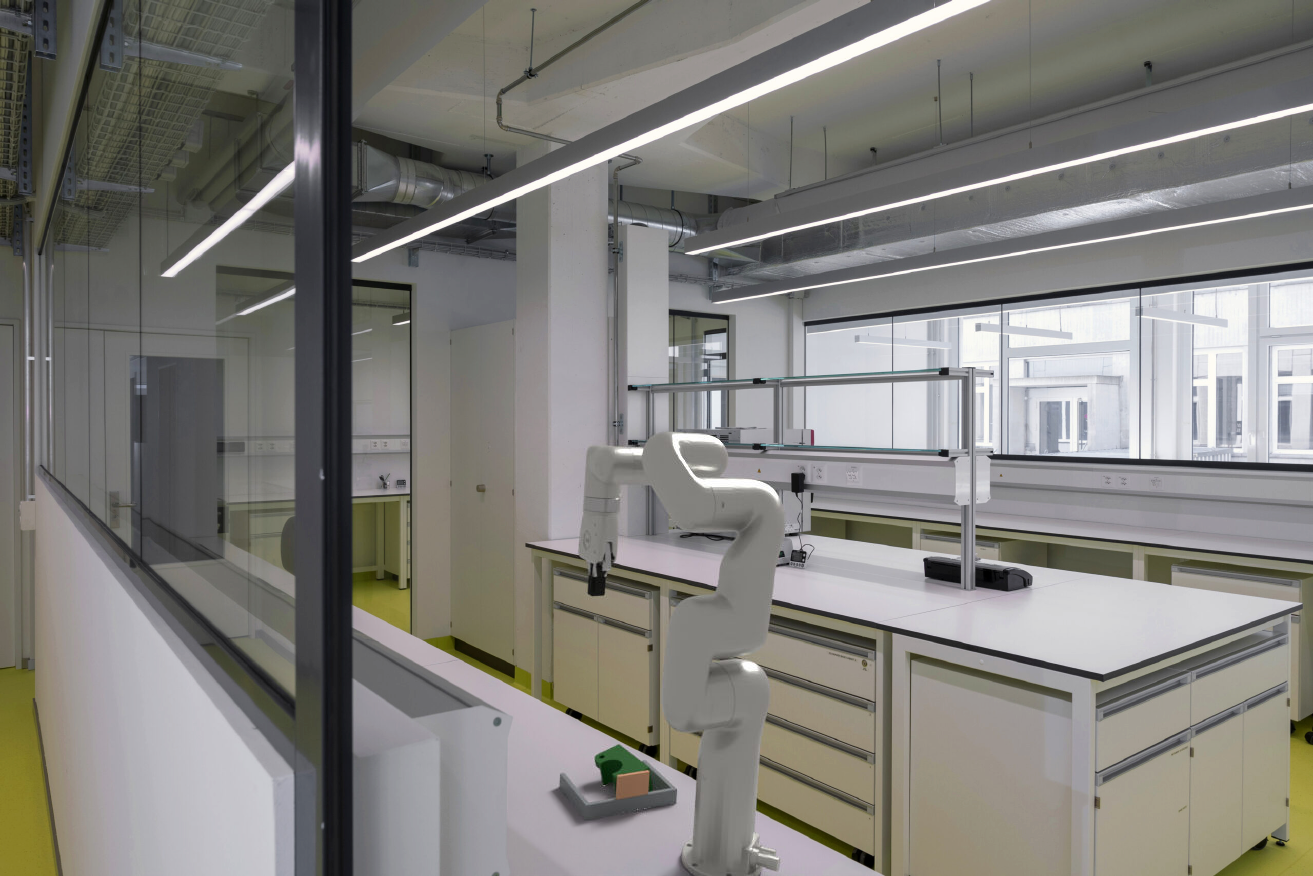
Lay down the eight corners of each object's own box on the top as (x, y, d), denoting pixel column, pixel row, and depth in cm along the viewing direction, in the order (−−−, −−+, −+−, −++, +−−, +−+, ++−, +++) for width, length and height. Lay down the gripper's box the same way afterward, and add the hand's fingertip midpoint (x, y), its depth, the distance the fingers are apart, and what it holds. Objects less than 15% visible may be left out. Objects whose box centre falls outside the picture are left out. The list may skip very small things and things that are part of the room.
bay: (559, 787, 143) (561, 752, 143) (644, 772, 151) (646, 739, 151) (585, 820, 132) (587, 782, 132) (676, 803, 140) (678, 767, 140)
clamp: (604, 805, 147) (588, 756, 149) (631, 791, 150) (615, 744, 152) (630, 808, 137) (612, 756, 139) (658, 793, 140) (641, 743, 142)
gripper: (571, 501, 164) (565, 588, 164) (598, 510, 151) (593, 604, 151) (604, 501, 167) (598, 586, 168) (633, 510, 154) (628, 602, 154)
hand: (596, 595), depth 159 cm, fingers closed
